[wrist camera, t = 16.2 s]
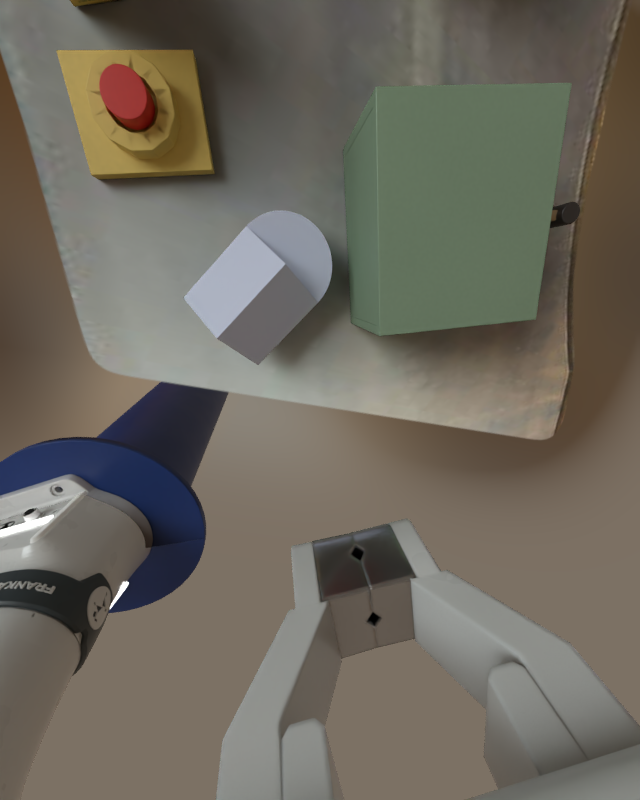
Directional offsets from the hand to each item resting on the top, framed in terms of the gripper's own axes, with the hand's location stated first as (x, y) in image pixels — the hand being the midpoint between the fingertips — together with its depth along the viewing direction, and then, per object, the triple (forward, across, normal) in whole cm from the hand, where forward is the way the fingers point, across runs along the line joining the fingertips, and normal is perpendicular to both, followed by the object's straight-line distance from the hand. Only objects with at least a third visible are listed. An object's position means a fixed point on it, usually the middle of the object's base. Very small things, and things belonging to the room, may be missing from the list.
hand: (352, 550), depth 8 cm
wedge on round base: (+29, +1, -7) cm, 30 cm away
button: (+26, +8, -21) cm, 35 cm away
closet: (+29, -14, -9) cm, 33 cm away
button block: (+29, +8, -21) cm, 37 cm away
